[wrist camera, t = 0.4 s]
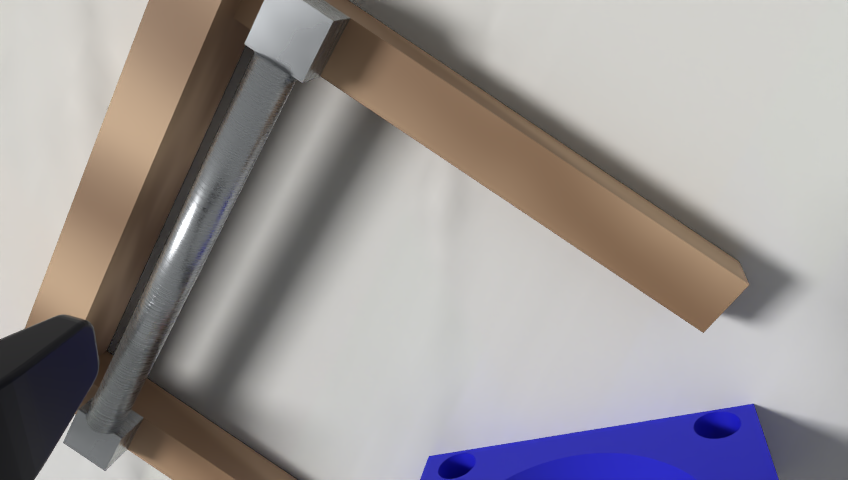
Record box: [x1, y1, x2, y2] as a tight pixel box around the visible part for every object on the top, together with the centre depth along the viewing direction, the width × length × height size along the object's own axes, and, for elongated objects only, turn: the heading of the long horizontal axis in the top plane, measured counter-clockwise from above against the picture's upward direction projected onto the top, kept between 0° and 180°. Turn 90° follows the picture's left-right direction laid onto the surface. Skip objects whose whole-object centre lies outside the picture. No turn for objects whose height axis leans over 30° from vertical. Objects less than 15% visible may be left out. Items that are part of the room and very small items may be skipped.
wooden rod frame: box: [25, 0, 749, 480], centre depth 25 cm, size 20×19×3 cm
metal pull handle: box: [63, 0, 350, 471], centre depth 22 cm, size 20×5×9 cm, turn 149°
